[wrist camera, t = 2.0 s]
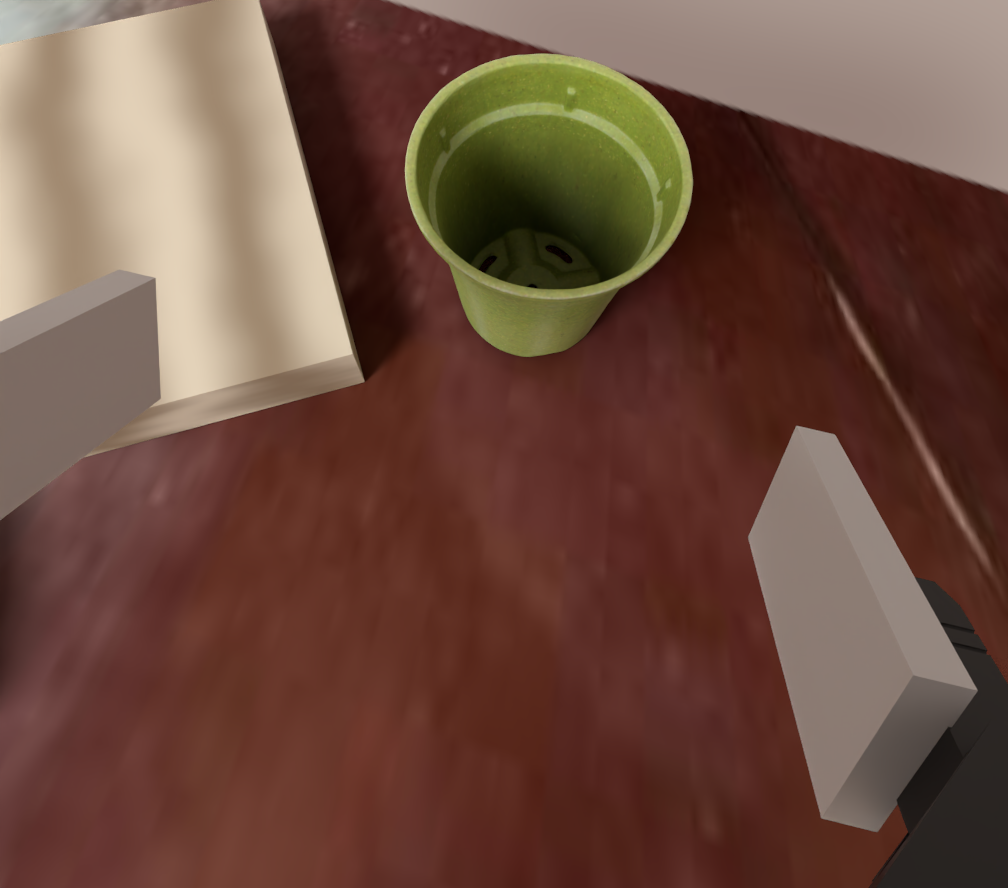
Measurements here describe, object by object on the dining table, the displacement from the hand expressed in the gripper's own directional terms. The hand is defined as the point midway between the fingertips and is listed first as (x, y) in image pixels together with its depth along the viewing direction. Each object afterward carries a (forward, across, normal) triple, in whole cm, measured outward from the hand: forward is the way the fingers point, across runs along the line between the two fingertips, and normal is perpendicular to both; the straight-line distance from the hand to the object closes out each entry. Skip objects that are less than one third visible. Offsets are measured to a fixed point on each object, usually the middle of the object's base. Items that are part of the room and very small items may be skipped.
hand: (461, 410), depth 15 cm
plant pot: (+18, 0, -3) cm, 19 cm away
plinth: (+16, -18, -5) cm, 25 cm away
